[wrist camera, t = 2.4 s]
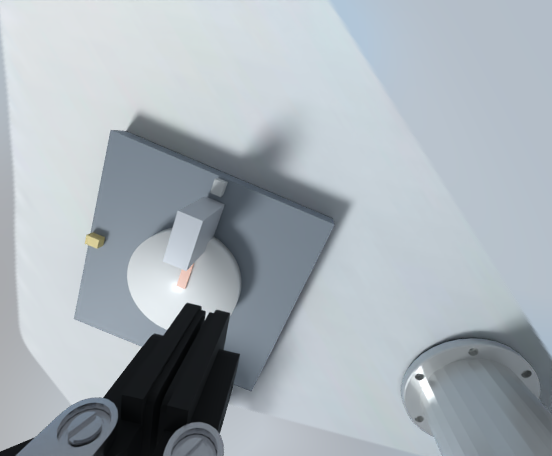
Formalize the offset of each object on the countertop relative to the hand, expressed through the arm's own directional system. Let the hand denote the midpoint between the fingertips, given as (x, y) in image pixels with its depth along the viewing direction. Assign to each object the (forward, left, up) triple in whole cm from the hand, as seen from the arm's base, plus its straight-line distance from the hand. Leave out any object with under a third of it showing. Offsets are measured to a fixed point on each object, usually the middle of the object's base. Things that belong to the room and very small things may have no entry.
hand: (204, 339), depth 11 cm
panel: (+5, +7, -16) cm, 18 cm away
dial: (+5, +6, -14) cm, 16 cm away
